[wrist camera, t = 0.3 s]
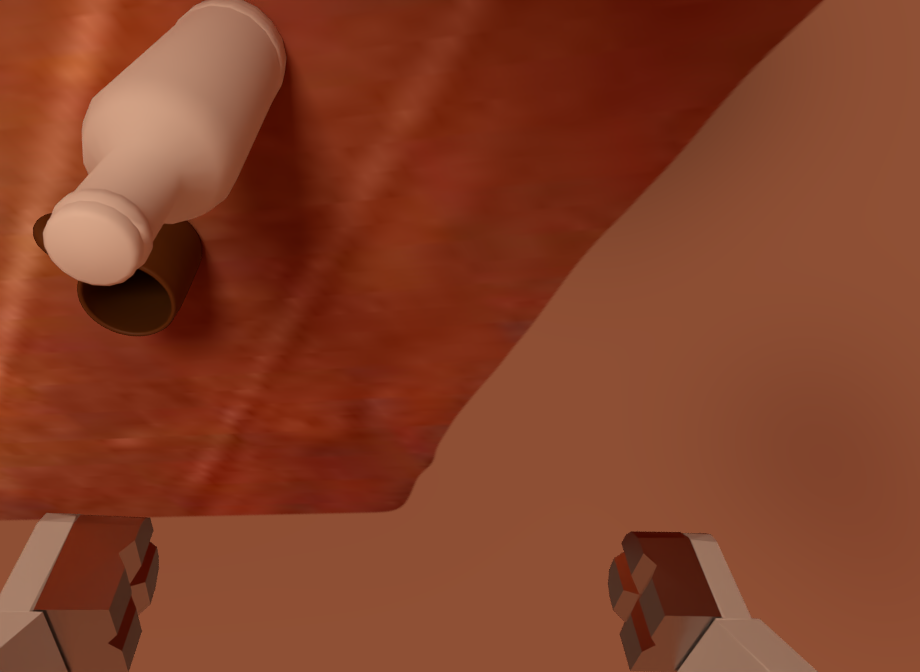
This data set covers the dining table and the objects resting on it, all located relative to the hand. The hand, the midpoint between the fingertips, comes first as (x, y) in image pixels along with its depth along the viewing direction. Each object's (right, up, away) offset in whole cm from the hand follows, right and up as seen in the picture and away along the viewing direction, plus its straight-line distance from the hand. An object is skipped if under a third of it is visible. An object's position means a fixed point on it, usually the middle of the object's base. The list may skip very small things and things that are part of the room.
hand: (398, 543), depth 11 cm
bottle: (-16, +25, +39) cm, 49 cm away
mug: (-27, +13, +47) cm, 56 cm away
